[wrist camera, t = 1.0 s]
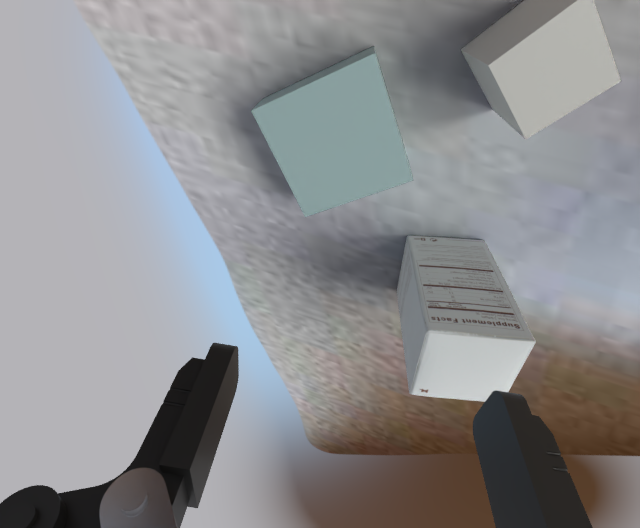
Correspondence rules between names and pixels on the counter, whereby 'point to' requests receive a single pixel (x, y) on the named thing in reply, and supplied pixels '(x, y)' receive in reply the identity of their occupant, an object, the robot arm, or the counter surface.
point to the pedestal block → (335, 134)
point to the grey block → (542, 62)
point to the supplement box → (458, 320)
